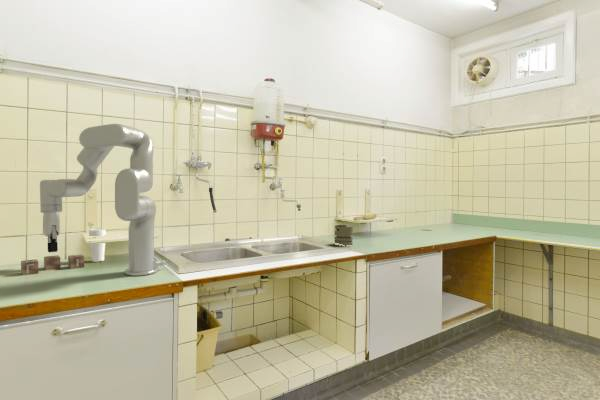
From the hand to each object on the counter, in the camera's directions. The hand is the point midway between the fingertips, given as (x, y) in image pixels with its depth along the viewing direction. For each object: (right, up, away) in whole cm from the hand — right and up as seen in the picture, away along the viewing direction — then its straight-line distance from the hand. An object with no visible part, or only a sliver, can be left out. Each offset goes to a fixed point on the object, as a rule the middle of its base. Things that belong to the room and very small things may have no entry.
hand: (52, 251), depth 147 cm
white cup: (+11, -7, +15) cm, 20 cm away
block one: (+8, -7, +3) cm, 11 cm away
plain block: (0, -7, 0) cm, 7 cm away
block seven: (-3, -8, -8) cm, 12 cm away
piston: (+133, -6, +69) cm, 150 cm away
